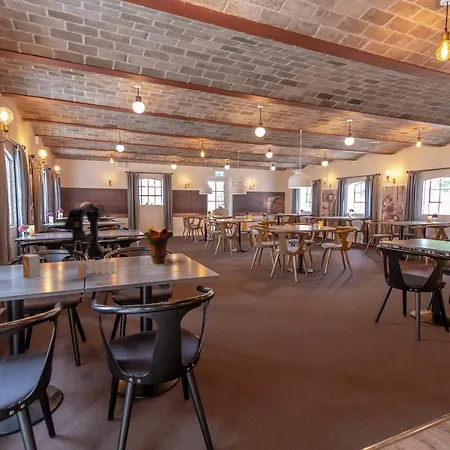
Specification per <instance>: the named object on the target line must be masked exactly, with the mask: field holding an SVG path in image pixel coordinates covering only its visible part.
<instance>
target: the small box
mask: <svg viewBox="0 0 450 450" xmlns="http://www.w3.org/2000/svg"><path fill="white" fill-rule="evenodd" d="M21 256H22V275H23V277H25V278H28V279H32V278H37V277H41V264H40V263H41V262H40V261H41V259H40V255H39V254H34V253H32V254H31V253H30V254H29V253H28V254H23V255H21Z"/></svg>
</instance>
